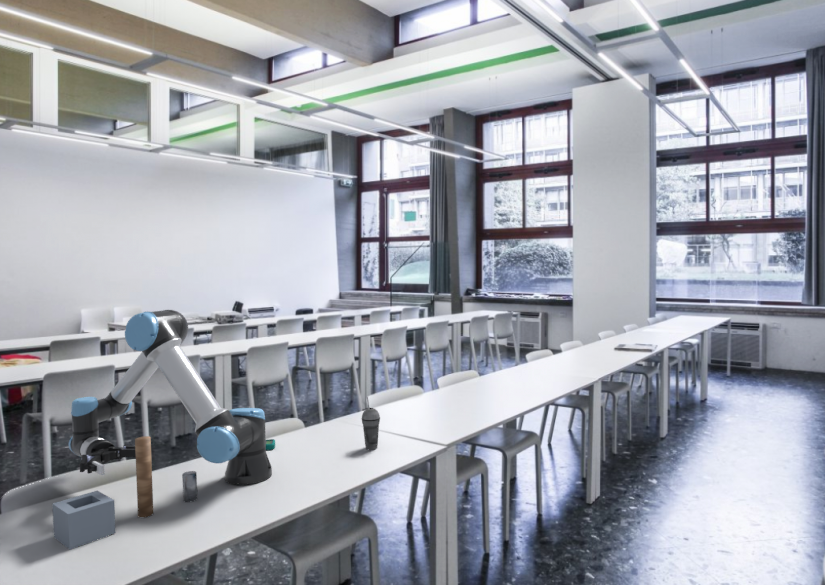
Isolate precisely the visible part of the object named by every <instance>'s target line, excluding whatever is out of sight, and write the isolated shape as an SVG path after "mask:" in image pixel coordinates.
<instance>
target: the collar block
mask: <svg viewBox="0 0 825 585" xmlns="http://www.w3.org/2000/svg"><path fill="white" fill-rule="evenodd" d="M51 506H52V523H53V525H52V526H53V538H54V539H55V540H57V541H58V542H59V543H60V544H62V545H63V546H64V547H65V548H66V549H68V550H72V549H76V548H78V546H79V547H81V545H82V546H84V544H85V545H87V544H90V543H92V541H93V542H95V541H98V540H97V539H99V540H101V539H100V538H102V539H104V538H107V537H109V536H108V535H110V536H112V535H111V534H113V535H115V534H114V533H117V532H116V530H117V529H116V510H115V506H116V505H115V499H113V498H112V497H109V496H108V495H106V494H105V493H103V492H101V491H99V490H94V491H91V492H87V493H84V494H81V495H77V496H74V497H70V498H67V499H63V500H60V501H57V502H53V503H52V505H51ZM106 536H107V537H106ZM103 537H104V538H103Z"/></svg>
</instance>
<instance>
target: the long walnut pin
mask: <svg viewBox="0 0 825 585" xmlns="http://www.w3.org/2000/svg"><path fill="white" fill-rule="evenodd" d="M151 439H152V437H151V436H147V435H144V436H140V437H136V438H134V446H135V453H136V457H135V474H136V476H135V477H136V499H137V500H136V501H137V517H138V516H139V517H138V518H140V517H144V518H149V517H150V516H152V514H154V494H153V490H154V489H153V468H152V467H153V466H152V463H153V462H151V459H152V444H151V442H152V440H151ZM148 516H149V517H148Z"/></svg>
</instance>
